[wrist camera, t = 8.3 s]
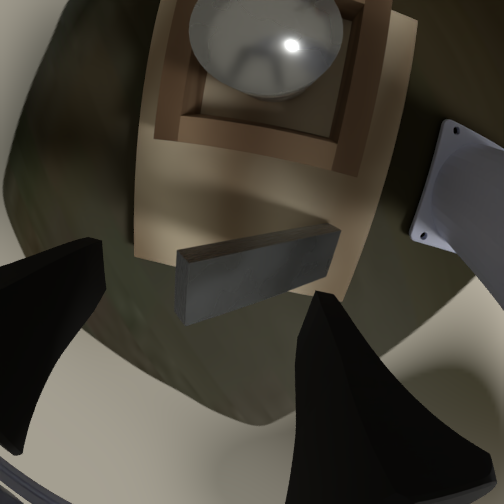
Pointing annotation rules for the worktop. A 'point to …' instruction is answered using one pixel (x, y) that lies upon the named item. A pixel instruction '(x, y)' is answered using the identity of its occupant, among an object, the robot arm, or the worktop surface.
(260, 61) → the steel peg
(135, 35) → the worktop surface
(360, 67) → the socket board
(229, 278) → the bar
